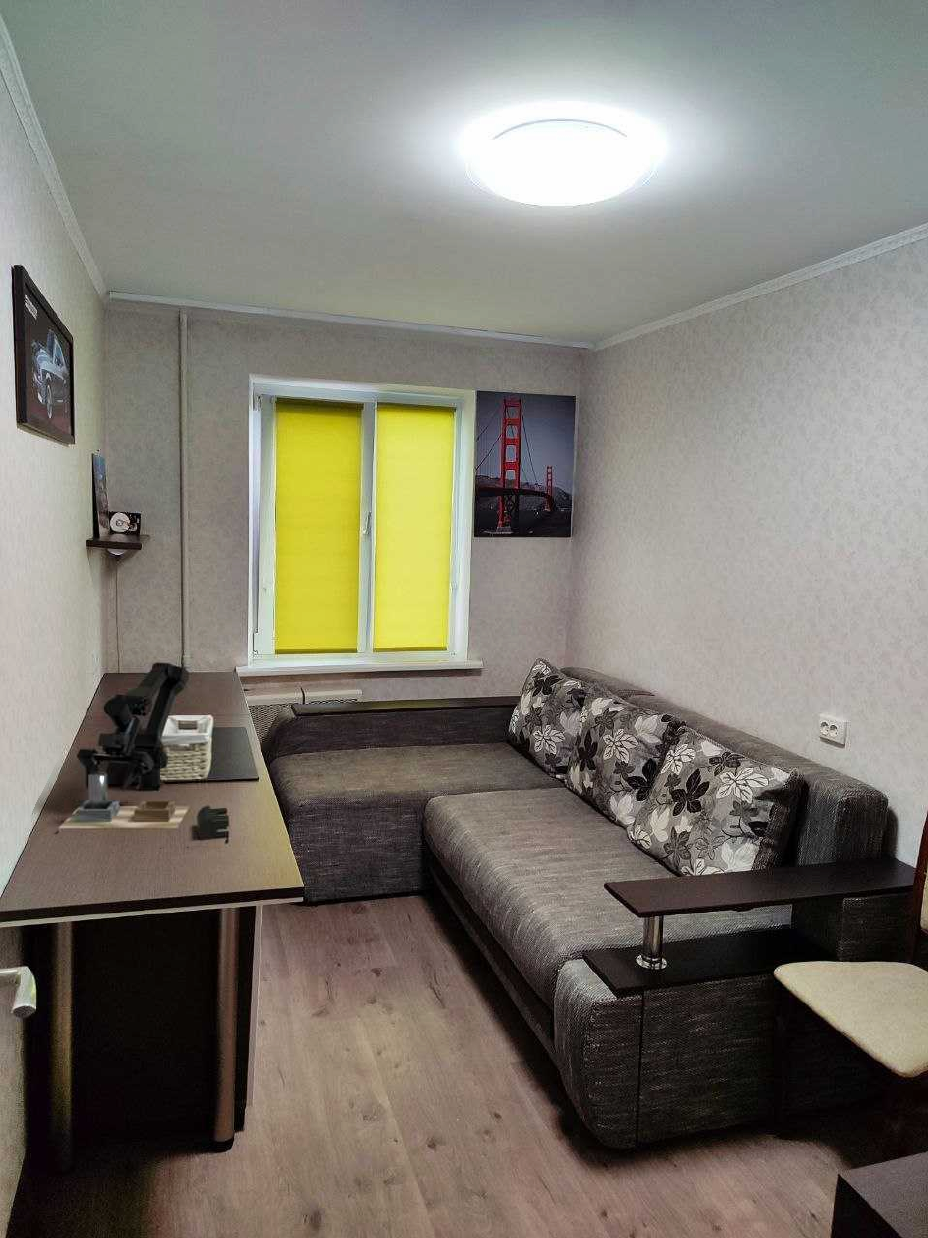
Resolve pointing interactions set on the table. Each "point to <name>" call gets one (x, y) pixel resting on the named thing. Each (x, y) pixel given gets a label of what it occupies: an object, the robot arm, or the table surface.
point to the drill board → (128, 815)
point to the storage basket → (187, 748)
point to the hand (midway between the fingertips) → (104, 788)
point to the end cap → (212, 823)
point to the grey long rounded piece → (98, 790)
